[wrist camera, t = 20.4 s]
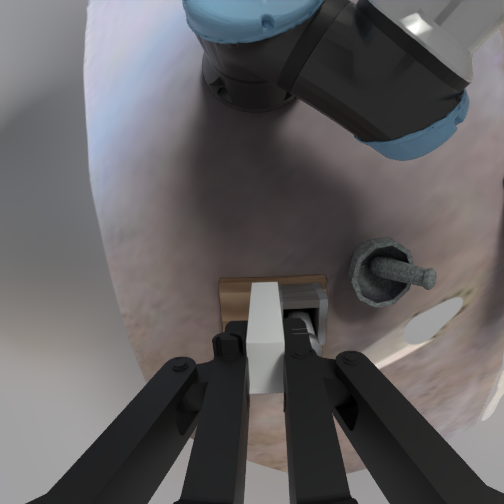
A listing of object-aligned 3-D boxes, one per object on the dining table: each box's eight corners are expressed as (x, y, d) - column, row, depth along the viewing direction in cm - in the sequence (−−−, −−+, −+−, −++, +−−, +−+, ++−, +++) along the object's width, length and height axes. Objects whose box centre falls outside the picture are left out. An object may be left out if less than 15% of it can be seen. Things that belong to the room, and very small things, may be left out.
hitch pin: (307, 290, 46) (322, 337, 32) (306, 313, 47) (320, 365, 33) (281, 291, 46) (288, 339, 32) (281, 314, 47) (287, 367, 33)
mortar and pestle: (341, 293, 46) (363, 330, 34) (336, 236, 43) (361, 259, 32) (403, 281, 45) (438, 311, 33) (402, 226, 42) (442, 244, 31)
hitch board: (220, 278, 46) (211, 299, 38) (324, 274, 45) (335, 295, 37) (230, 379, 51) (226, 409, 43) (317, 376, 50) (324, 405, 42)
